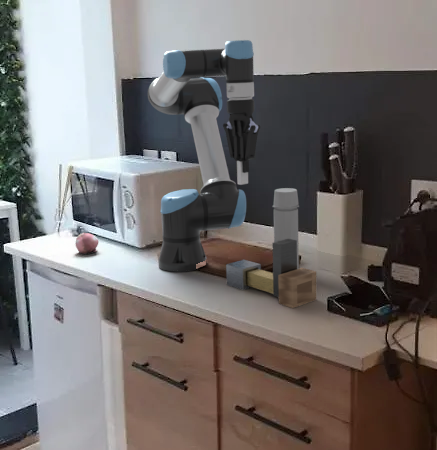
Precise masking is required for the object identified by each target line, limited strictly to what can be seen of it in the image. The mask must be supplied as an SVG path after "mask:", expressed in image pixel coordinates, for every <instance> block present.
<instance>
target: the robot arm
mask: <svg viewBox="0 0 437 450" xmlns="http://www.w3.org/2000/svg"><path fill="white" fill-rule="evenodd" d="M162 66H163V67H162V69H163V71H162V73H161V74H160V76H159V77H158V78H155V79H154V80H153V81H152V82H151V84H149V87H148V88H147V99H148V102H149V103H150V104H151V106H152V107H153V108H154V109H155V110H157V111H158V112H160V113H163V114H166V115H171V116H173V115H174V116H175V115H176V116H177V115H178V116H179V115H184V120H185V122H186V123H188V124H190V126H191V131H192V135H193V141H194V145H195V150H196V154H197V160H198V164H199V168H200V169H199V170H200V174H201V180H202V183H203V186H202V187H201V189H200V190H199V191H200V192H198V189H196V188H195V189H194V188H188V189H180V190H175V191H171V192H168V193H167V194H165V195H163V196H162V197H161V199H160V214H161V215H160V216H161V229H162V230H161V231H162V234H161V235H162V244H161V248H160V251H159V257H158V267H159V269H160V270H163V271H166V272H175V273H177V272H180V273H182V272H191V271H197V270H196V264H198V263H200V262H203V261H205V260H206V259H207V255H206V253H205V249H204V247H203V244H202V241H201V232H203V231H212V230H213V231H214V230H223V229H225V230H226V229H231V228H237V227H240V226H241V225H243V223H244V222H245V218H246V213H247V197H246V193H245V191H244V190H243V189H240V188H239V189H238V188H237V185H240V186H242V185H247V184H249V172H250V163H249V162H250V160H252V159H255V156H256V148H257V143H258V142H257V141H258V134H259V131H260V129H261V125H260V124H256V123H255V122H254V117H253V113H254V112H255V99H254V98H253V97H255V83H254V79H255V77H254V76H255V75H254V46H253V43H252V41H251V40H250V39H249V40H248V39H243V40H239V39H238V40H227V41H226V42H225V44H224V48H212V49H210V48H208V49H175V50H168V51H166V52H164V55H163V59H162ZM212 77H214V78H215V77H225V82H226V97H227V100H226V112H227V113H228V114H229V117H228V121H227V122H226V123H223V124H222V126H223V129H224V132H225V136H226V140H227V141H226V142H227V145H228V152H229V157H230V158H231V159H234V161H235V171H236V172H237V173H236V177H237V180H236V181H237V184H236V182H235V181H234V180H231V177H230V174H229V173H230V172H229V168H228V166H227V161H226V157H225V156H226V155H225V152H224V148H223V143H222V139H221V135H220V131H219V130H220V129H219V126H218V121H217V118H218V117H219V114H220V112H221V110H222V108H223V99H222V97H223V95H222V90H221V87H220V85H219V83H218V82H217V81H216V80H215V79H214V78H212ZM207 260H208V259H207Z"/></svg>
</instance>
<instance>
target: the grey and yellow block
mask: <svg viewBox="0 0 437 450" xmlns="http://www.w3.org/2000/svg"><path fill="white" fill-rule="evenodd" d="M271 245H272V272H271V271H267V270H263V269H261V270H260V269H257V268H254V269H251V270H247V271H245V272H246V285H247V286H250V287H251V288H254V289H257V290H260V291H262V292H263V291H264V292H267V293H270V294H273V296H274V297H276V298H279V282H278V275H280V274H283V273H287V272H290V271H293V270H296V269H297V240H293V239H285V240H281V241H278V242H274V241H273V242H272V244H271Z"/></svg>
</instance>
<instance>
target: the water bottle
mask: <svg viewBox="0 0 437 450" xmlns="http://www.w3.org/2000/svg"><path fill="white" fill-rule="evenodd" d="M299 204H300V203H299V197H298V190H297V189H296V188H292V187H291V188H290V187H289V188H288V187H285V188H283V187H282V188H276V189H274V195H273V205H272V206H271V207H272V208H273V243H274V242H278V241H281V240H285V239H293V240H297V269H300V268H299V267H300V266H299V265H300V263H299V262H300V261H299V259H300V257H299V208H300V205H299Z"/></svg>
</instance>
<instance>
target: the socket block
mask: <svg viewBox="0 0 437 450" xmlns="http://www.w3.org/2000/svg"><path fill="white" fill-rule="evenodd" d="M278 282H279V297H278V304H279V305H282V306H284V307H288V308H290V309H294V308H297V307H299V306H303V305H306V304H308V303H311V302H314V301H317V300H318V299H317V271H316V270H312V269H309V268H305V267H300V268H299V269H296V270H293V271H290V272H287V273H283V274H280V275H278Z"/></svg>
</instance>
